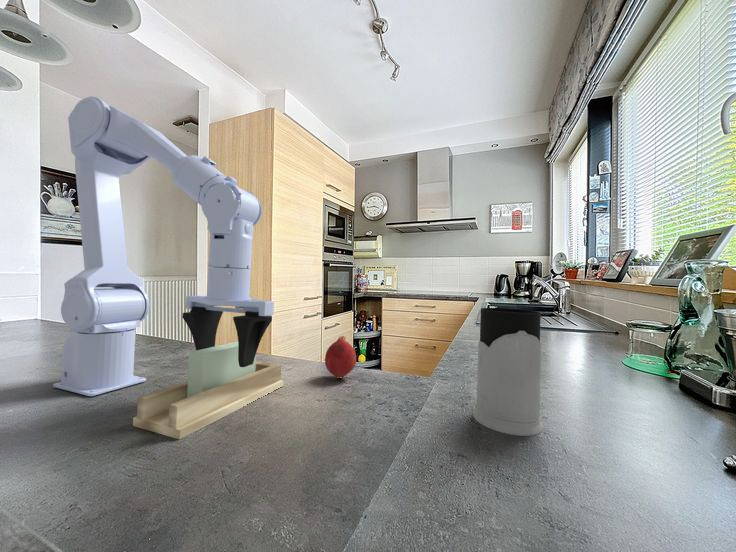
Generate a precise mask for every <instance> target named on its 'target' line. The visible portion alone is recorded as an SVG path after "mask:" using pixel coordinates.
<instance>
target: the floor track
mask: <svg viewBox="0 0 736 552" xmlns="http://www.w3.org/2000/svg"><path fill="white" fill-rule="evenodd" d="M281 378H282V364H276V363H269V362H264V361H263V362H262V361H257V360H256V368H255V372H254V373H251V374H249V375H246V376H243V377H241V378H238V379H235V380H233V381H230V382H228V383H225V384H222V385H220V386H217V387H215V388H212V389H209V390H207V391H204V392H201V393H199V394H196V395H194V396H191V397H188V398H187V388H188V380H187V381H183V382H180V383H178V384H174V385H171V386H167V387H165V388H162V389H159V390H156V391H152V392H148V393H146V394H144V395H141V396H138V397H137V408H136V409H137V410H136V416H134V417H133V419H132V426H133V427H135V428H139V429H142V430H145V431H149V432H153V433H156V434H160V435H164V436H166V437H170V438H173V439H176V440H181V439H184V438H186V437H188V436H189V435H192V434H193V433H195V432H197V431H199V430H201V429H203V428H205V427H207V426H209V425H210V424H213V423H215V422H217V421H219V420H220V419H222V418H224V417H227V416H229V415H230V414H232V413H235V412H236V411H239V410H241V409H242V408H244V407H246V406H248V405H250V404H252V403H254V402H256V401H258V400H259V399H258V398H260V399H261V397H262V398H264V397H266V396H267V394H268V393H270V394H271V392H272V393H274V392H275V391H274V390H276V389H278V388H280V387H282V386H283V387H284V380H282V379H281ZM283 387H282V388H283ZM280 389H281V388H280ZM278 390H279V389H278ZM273 391H274V392H273ZM276 391H277V390H276ZM265 395H266V396H265ZM268 395H269V394H268ZM263 396H264V397H263ZM257 399H258V400H257ZM255 400H256V401H255ZM253 401H254V402H253ZM251 402H252V403H251ZM249 403H250V404H249ZM247 404H248V405H247ZM243 406H244V407H243Z"/></svg>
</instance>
